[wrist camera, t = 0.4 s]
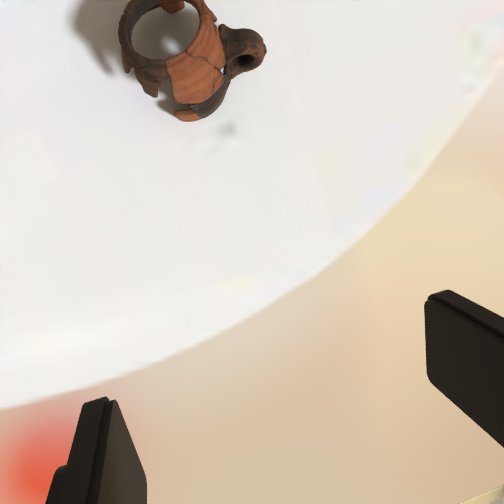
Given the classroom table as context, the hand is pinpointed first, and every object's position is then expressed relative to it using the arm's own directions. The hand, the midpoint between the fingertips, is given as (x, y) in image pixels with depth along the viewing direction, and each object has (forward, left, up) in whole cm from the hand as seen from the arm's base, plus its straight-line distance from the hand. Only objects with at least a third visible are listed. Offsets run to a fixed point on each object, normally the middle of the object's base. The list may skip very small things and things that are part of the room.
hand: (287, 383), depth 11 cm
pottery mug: (-13, +1, -30) cm, 33 cm away
